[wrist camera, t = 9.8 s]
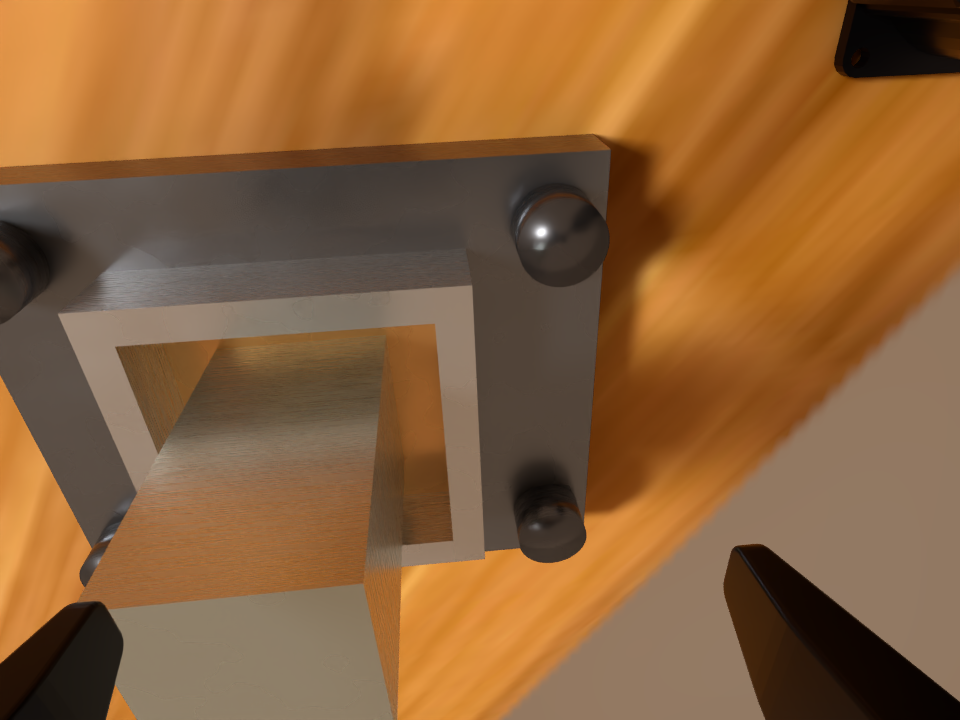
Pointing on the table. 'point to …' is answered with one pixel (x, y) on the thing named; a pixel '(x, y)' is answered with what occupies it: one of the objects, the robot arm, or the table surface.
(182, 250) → the square hole base plate
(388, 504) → the brushed metal square peg
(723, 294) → the table surface
